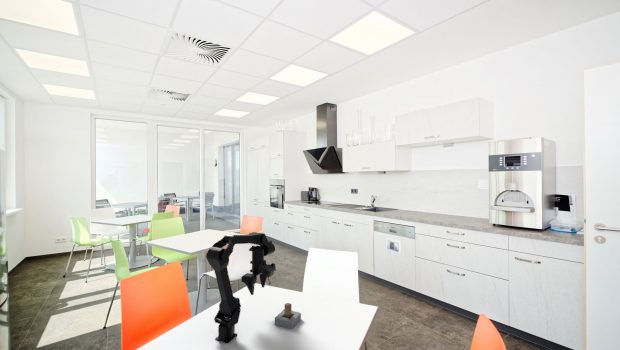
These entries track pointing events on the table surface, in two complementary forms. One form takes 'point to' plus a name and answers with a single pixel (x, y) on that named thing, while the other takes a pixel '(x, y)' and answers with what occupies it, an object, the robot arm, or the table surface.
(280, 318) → the socket
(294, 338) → the table surface
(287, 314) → the peg
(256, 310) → the table surface
